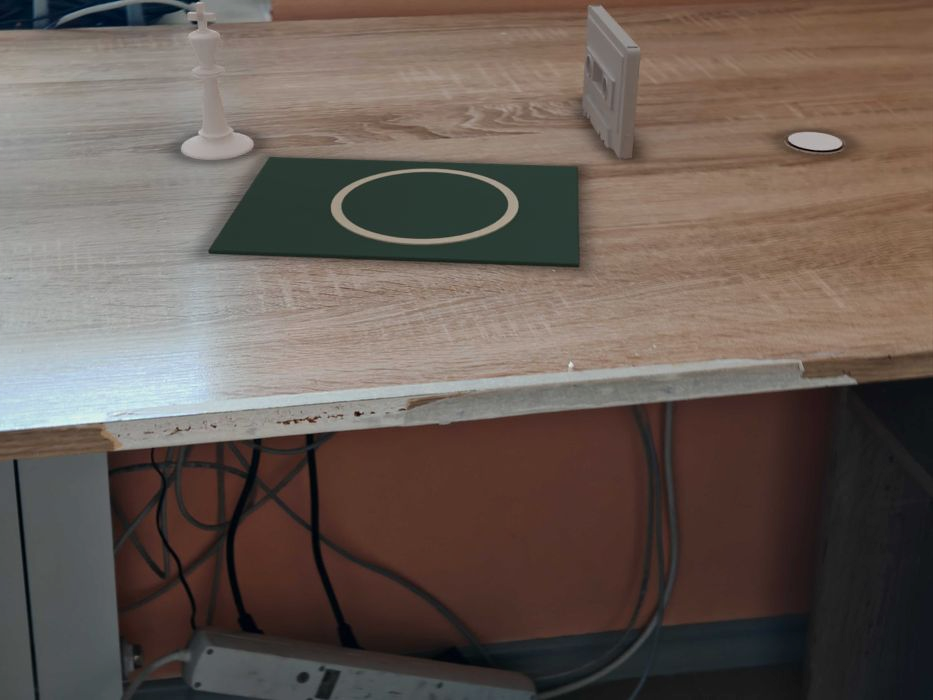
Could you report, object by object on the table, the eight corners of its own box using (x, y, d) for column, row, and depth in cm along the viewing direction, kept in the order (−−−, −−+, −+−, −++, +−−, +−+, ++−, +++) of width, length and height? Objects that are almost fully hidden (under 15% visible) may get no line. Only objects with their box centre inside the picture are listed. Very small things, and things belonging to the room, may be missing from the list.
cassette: (639, 166, 71) (649, 49, 67) (611, 167, 71) (620, 50, 67) (599, 107, 81) (606, 3, 77) (575, 108, 81) (580, 3, 77)
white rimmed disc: (771, 148, 73) (772, 139, 73) (805, 135, 76) (807, 126, 75) (821, 165, 71) (823, 156, 71) (856, 151, 73) (857, 142, 73)
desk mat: (209, 263, 59) (207, 247, 58) (270, 167, 71) (268, 154, 70) (578, 277, 57) (579, 261, 57) (577, 177, 69) (577, 163, 69)
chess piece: (196, 140, 75) (176, -8, 70) (265, 143, 74) (250, -5, 69) (169, 166, 71) (146, 11, 66) (242, 170, 70) (224, 13, 65)
